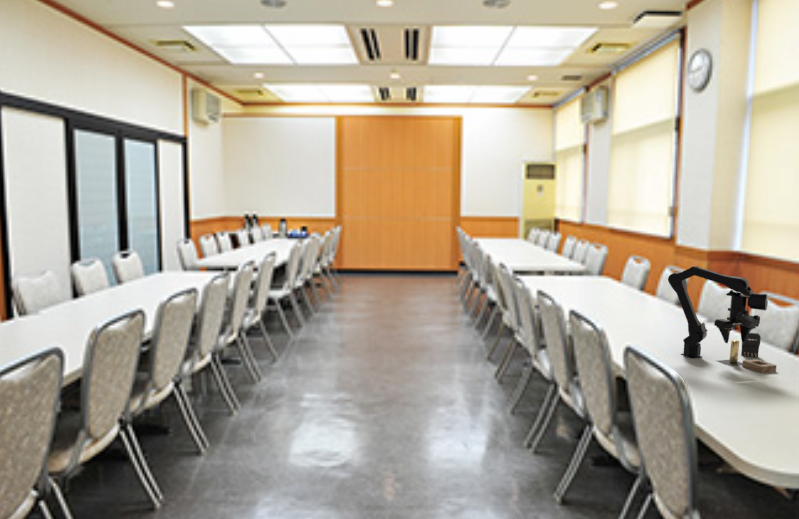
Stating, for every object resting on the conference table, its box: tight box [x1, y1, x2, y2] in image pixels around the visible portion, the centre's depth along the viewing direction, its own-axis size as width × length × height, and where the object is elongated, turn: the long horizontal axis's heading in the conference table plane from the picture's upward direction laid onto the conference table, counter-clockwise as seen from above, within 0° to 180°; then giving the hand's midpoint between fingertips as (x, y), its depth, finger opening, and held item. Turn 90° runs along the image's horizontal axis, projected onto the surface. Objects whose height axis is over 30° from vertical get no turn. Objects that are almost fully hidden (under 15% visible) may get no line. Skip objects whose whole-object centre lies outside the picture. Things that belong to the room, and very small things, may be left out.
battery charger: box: [740, 331, 762, 359], centre depth 257 cm, size 7×4×11 cm, turn 68°
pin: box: [729, 339, 740, 364], centre depth 246 cm, size 3×3×10 cm
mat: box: [716, 359, 743, 367], centre depth 247 cm, size 9×8×1 cm
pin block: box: [741, 358, 777, 374], centre depth 239 cm, size 8×9×3 cm
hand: (734, 342), depth 245 cm, fingers open, 9 cm apart
